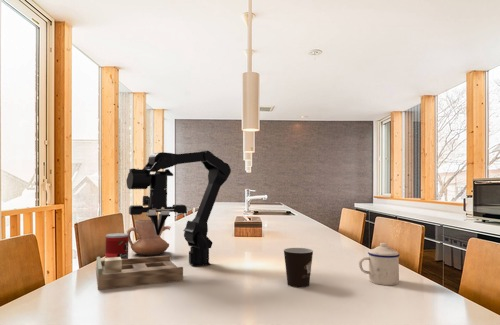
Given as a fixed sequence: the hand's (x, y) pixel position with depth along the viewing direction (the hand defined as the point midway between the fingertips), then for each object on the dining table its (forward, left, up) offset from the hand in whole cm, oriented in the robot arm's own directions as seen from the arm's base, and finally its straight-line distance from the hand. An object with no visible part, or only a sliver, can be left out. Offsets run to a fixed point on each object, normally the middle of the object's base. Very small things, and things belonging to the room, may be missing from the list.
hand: (157, 235), depth 126 cm
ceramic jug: (-2, -31, -12) cm, 34 cm away
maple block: (+15, +10, -10) cm, 20 cm away
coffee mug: (-37, +33, -12) cm, 51 cm away
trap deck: (+7, +6, -12) cm, 15 cm away
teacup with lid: (-60, +40, -12) cm, 73 cm away
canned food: (+12, -14, -12) cm, 22 cm away
